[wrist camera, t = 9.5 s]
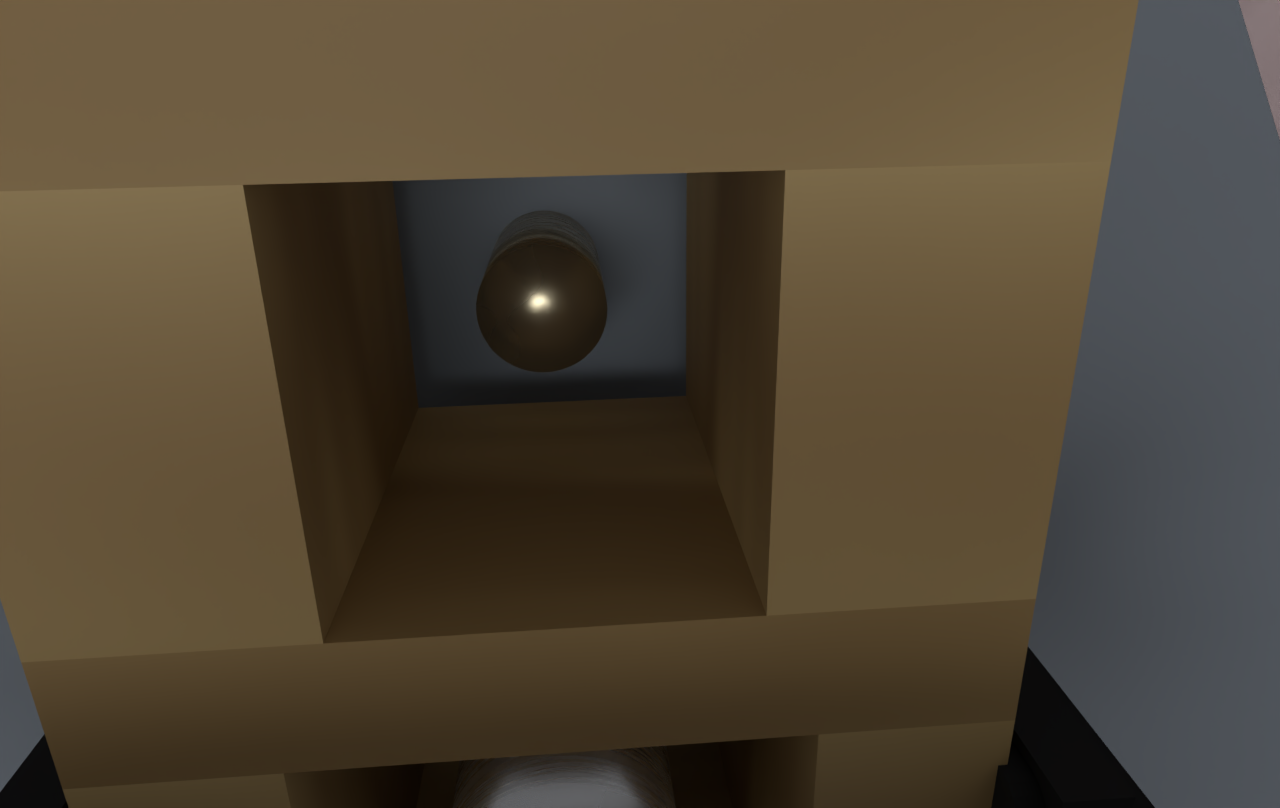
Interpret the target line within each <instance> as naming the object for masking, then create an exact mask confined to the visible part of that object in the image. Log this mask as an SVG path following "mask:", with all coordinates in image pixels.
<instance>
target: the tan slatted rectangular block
mask: <svg viewBox="0 0 1280 808" xmlns="http://www.w3.org/2000/svg"><path fill="white" fill-rule="evenodd" d="M1138 1H1139V0H0V599H1V602H2V606H3V609H4V612H5V615H6V618H7V621H8V624H9V627H10V630H11V633H12V636H13V639H14V642H15V645H16V648H17V651H18V654H19V657H20V661H21V664H22V667H23V670H24V673H25V676H26V679H27V682H28V685H29V688H30V691H31V694H32V697H33V700H34V703H35V706H36V709H37V712H38V716H39V719H40V722H41V725H42V728H43V731H44V734H45V737H46V740H47V743H48V746H49V749H50V752H51V755H52V758H53V761H54V764H55V767H56V770H57V774H58V777H59V780H60V783H61V786H62V789H63V792H64V795H65V798H66V801H67V804H68V807H69V808H453V802H454V795H455V789H456V782H457V775H458V768H459V761H462V760H476V759H489V758H503V757H517V756H531V755H544V754H558V753H572V752H586V751H600V750H613V749H627V748H641V747H655V746H666V747H667V753H668V760H669V766H670V773H671V779H672V786H673V792H674V799H675V805H676V808H991V806H992V800H993V794H994V788H995V782H996V776H997V770H998V765H1007V764H1008V759H1009V753H1010V747H1011V741H1012V735H1013V729H1014V724H1015V718H1016V712H1017V706H1018V700H1019V695H1020V689H1021V683H1022V677H1023V671H1024V665H1025V660H1026V654H1027V648H1028V642H1029V636H1030V630H1031V625H1032V619H1033V613H1034V607H1035V601H1036V595H1037V590H1038V584H1039V578H1040V572H1041V566H1042V560H1043V555H1044V549H1045V543H1046V537H1047V531H1048V526H1049V520H1050V514H1051V508H1052V502H1053V496H1054V491H1055V485H1056V479H1057V473H1058V467H1059V461H1060V456H1061V450H1062V444H1063V438H1064V432H1065V426H1066V421H1067V415H1068V409H1069V403H1070V397H1071V392H1072V386H1073V380H1074V374H1075V368H1076V362H1077V357H1078V351H1079V345H1080V339H1081V333H1082V327H1083V322H1084V316H1085V310H1086V304H1087V298H1088V292H1089V287H1090V281H1091V275H1092V269H1093V263H1094V257H1095V252H1096V246H1097V240H1098V234H1099V228H1100V223H1101V217H1102V211H1103V205H1104V199H1105V193H1106V188H1107V182H1108V176H1109V170H1110V164H1111V158H1112V153H1113V147H1114V141H1115V135H1116V129H1117V123H1118V118H1119V112H1120V106H1121V100H1122V94H1123V89H1124V83H1125V77H1126V71H1127V65H1128V59H1129V54H1130V48H1131V42H1132V36H1133V30H1134V24H1135V19H1136V13H1137V7H1138ZM663 173H687V209H686V396H673V397H651V398H628V399H606V400H584V401H561V402H539V403H517V404H494V405H472V406H450V407H428V408H419V407H418V399H417V390H416V381H415V373H414V364H413V355H412V347H411V338H410V329H409V321H408V312H407V303H406V295H405V286H404V277H403V269H402V260H401V251H400V243H399V234H398V225H397V217H396V208H395V199H394V190H393V182H392V181H404V180H441V179H478V178H515V177H552V176H589V175H626V174H663Z"/></svg>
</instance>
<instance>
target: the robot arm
mask: <svg viewBox="0 0 1280 808" xmlns="http://www.w3.org/2000/svg"><path fill="white" fill-rule="evenodd" d="M0 808H69V807H68V804H67V801H66V798H65V795H64V792H63V789H62V786H61V783H60V780H59V777H58V774H57V770H56V767H55V764H54V761H53V758H52V755H51V752H50V749H49V746H48V743H47V740H46V737H45V734H44V735H43V737H42V738H41V739H40V740H39V742H38V743H37V744H36V746H35V747H34V748H33V750H32V751H31V752H30V754H29V755H28V756H27V758H26V759H25V760H24V762H23V763H22V764H21V765H20V767H19V768H18V769H17V771H16V772H15V773H14V775H13V776H12V777H11V779H10V780H9V781H8V783H7V784H6V785H5V786H4V788H3V789H2V790H1V792H0ZM991 808H1155V807H1154V806H1153V804H1152V803H1151V802H1150V800H1149V799H1148V798H1147V797H1146V795H1145V794H1144V793H1143V792H1142V790H1141V789H1140V788H1139V787H1138V785H1137V784H1136V783H1135V781H1134V780H1133V779H1132V778H1131V776H1130V775H1129V774H1128V773H1127V771H1126V770H1125V769H1124V767H1123V766H1122V765H1121V764H1120V762H1119V761H1118V760H1117V759H1116V757H1115V756H1114V755H1113V753H1112V752H1111V751H1110V750H1109V748H1108V747H1107V746H1106V745H1105V743H1104V742H1103V741H1102V739H1101V738H1100V737H1099V736H1098V734H1097V733H1096V732H1095V731H1094V729H1093V728H1092V727H1091V725H1090V724H1089V723H1088V722H1087V720H1086V719H1085V718H1084V717H1083V715H1082V714H1081V713H1080V712H1079V710H1078V709H1077V708H1076V706H1075V705H1074V704H1073V703H1072V701H1071V700H1070V699H1069V698H1068V696H1067V695H1066V694H1065V692H1064V691H1063V690H1062V689H1061V687H1060V686H1059V685H1058V684H1057V682H1056V681H1055V680H1054V678H1053V677H1052V676H1051V675H1050V673H1049V672H1048V671H1047V670H1046V668H1045V667H1044V666H1043V664H1042V663H1041V662H1040V661H1039V659H1038V658H1037V657H1036V656H1035V654H1034V653H1033V652H1032V651H1031V649H1030V648H1029V647H1028V648H1027V654H1026V660H1025V665H1024V671H1023V677H1022V683H1021V689H1020V695H1019V700H1018V706H1017V712H1016V718H1015V724H1014V729H1013V735H1012V741H1011V747H1010V753H1009V759H1008V764H1007V765H998V770H997V776H996V782H995V788H994V794H993V800H992V806H991Z"/></svg>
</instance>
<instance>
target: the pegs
mask: <svg viewBox="0 0 1280 808" xmlns="http://www.w3.org/2000/svg"><path fill="white" fill-rule="evenodd" d="M476 315H477V321H478V325H479V328H480V331H481V333H482V335H483V337H484V339H485V341H486V342H487V344H488V345H489V346H490V348H491V349H492V350H493V351H494V352H495V353H496V354H497V355H498V356H499V357H500V358H502V359H503V360H504V361H506V362H508V363H509V364H511V365H513V366H515V367H518V368H520V369H523V370H527V371H532V372H554V371H558V370H562V369H565V368H568V367H570V366H572V365H574V364H576V363H578V362H579V361H581V360H582V359H584V358H585V357H586V356H587V355H588V354H589V353H590V352H591V351H592V350H593V349H594V348H595V346H596V345H597V343H598V342H599V340H600V338H601V336H602V334H603V332H604V328H605V325H606V320H607V299H606V294H605V289H604V284H603V279H602V273H601V268H600V263H599V258H598V253H597V249H596V246H595V244H594V241H593V240H592V238H591V236H590V235H589V233H588V232H587V230H586V229H585V228H584V227H583V226H582V225H581V224H579V223H578V222H577V221H576V220H574V219H572V218H571V217H569V216H567V215H564V214H562V213H558V212H554V211H535V212H530V213H527V214H524V215H522V216H520V217H518V218H516V219H515V220H513V221H512V222H511V223H509V224H508V225H507V226H506V227H505V228H504V230H503V231H502V232H501V234H500V235H499V237H498V239H497V241H496V243H495V246H494V249H493V251H492V254H491V257H490V260H489V262H488V265H487V268H486V271H485V274H484V276H483V279H482V282H481V285H480V288H479V291H478V295H477V301H476ZM453 808H676V805H675V799H674V792H673V786H672V779H671V773H670V766H669V760H668V753H667V747H666V746H655V747H641V748H627V749H613V750H600V751H586V752H572V753H558V754H544V755H531V756H517V757H503V758H489V759H476V760H462V761H459V768H458V775H457V782H456V789H455V795H454V802H453Z"/></svg>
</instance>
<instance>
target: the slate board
mask: <svg viewBox="0 0 1280 808" xmlns="http://www.w3.org/2000/svg"><path fill="white" fill-rule="evenodd" d="M392 182H393V190H394V199H395V208H396V217H397V225H398V234H399V243H400V251H401V260H402V269H403V277H404V286H405V295H406V303H407V312H408V321H409V329H410V338H411V347H412V355H413V364H414V373H415V381H416V390H417V399H418V407H419V408H428V407H450V406H472V405H494V404H517V403H539V402H561V401H584V400H606V399H628V398H651V397H673V396H686V209H687V173H663V174H626V175H589V176H552V177H515V178H478V179H441V180H404V181H392ZM535 211H554V212H558V213H562V214H564V215H567V216H569V217H571V218H572V219H574V220H576V221H577V222H578V223H579V224H581V225H582V226H583V227H584V228H585V229H586V230H587V232H588V233H589V235H590V236H591V238H592V240H593V241H594V244H595V246H596V249H597V253H598V258H599V263H600V268H601V273H602V279H603V284H604V289H605V294H606V299H607V320H606V325H605V328H604V332H603V334H602V336H601V338H600V340H599V342H598V343H597V345H596V346H595V348H594V349H593V350H592V351H591V352H590V353H589V354H588V355H587V356H586V357H585V358H584V359H582V360H581V361H579V362H578V363H576V364H574V365H572V366H570V367H568V368H565V369H562V370H558V371H554V372H532V371H527V370H523V369H520V368H518V367H515V366H513V365H511V364H509V363H508V362H506V361H504V360H503V359H502V358H500V357H499V356H498V355H497V354H496V353H495V352H494V351H493V350H492V349H491V348H490V346H489V345H488V344H487V342H486V341H485V339H484V337H483V335H482V333H481V331H480V328H479V325H478V321H477V315H476V301H477V295H478V291H479V288H480V285H481V282H482V279H483V276H484V274H485V271H486V268H487V265H488V262H489V260H490V257H491V254H492V251H493V249H494V246H495V243H496V241H497V239H498V237H499V235H500V234H501V232H502V231H503V230H504V228H505V227H506V226H507V225H508V224H509V223H511V222H512V221H513V220H515V219H516V218H518V217H520V216H522V215H524V214H527V213H530V212H535ZM1028 647H1029V648H1030V649H1031V651H1032V652H1033V653H1034V654H1035V656H1036V657H1037V658H1038V659H1039V661H1040V662H1041V663H1042V664H1043V666H1044V667H1045V668H1046V670H1047V671H1048V672H1049V673H1050V675H1051V676H1052V677H1053V678H1054V680H1055V681H1056V682H1057V684H1058V685H1059V686H1060V687H1061V689H1062V690H1063V691H1064V692H1065V694H1066V695H1067V696H1068V698H1069V699H1070V700H1071V701H1072V703H1073V704H1074V705H1075V706H1076V708H1077V709H1078V710H1079V712H1080V713H1081V714H1082V715H1083V717H1084V718H1085V719H1086V720H1087V722H1088V723H1089V724H1090V725H1091V727H1092V728H1093V729H1094V731H1095V732H1096V733H1097V734H1098V736H1099V737H1100V738H1101V739H1102V741H1103V742H1104V743H1105V745H1106V746H1107V747H1108V748H1109V750H1110V751H1111V752H1112V753H1113V755H1114V756H1115V757H1116V759H1117V760H1118V761H1119V762H1120V764H1121V765H1122V766H1123V767H1124V769H1125V770H1126V771H1127V773H1128V774H1129V775H1130V776H1131V778H1132V779H1133V780H1134V781H1135V783H1136V784H1137V785H1138V787H1139V788H1140V789H1141V790H1142V792H1143V793H1144V794H1145V795H1146V797H1147V798H1148V799H1149V800H1150V802H1151V803H1152V804H1153V806H1154V807H1155V808H1280V140H1279V137H1278V133H1277V130H1276V127H1275V123H1274V120H1273V116H1272V113H1271V110H1270V106H1269V103H1268V100H1267V96H1266V93H1265V89H1264V86H1263V83H1262V79H1261V76H1260V73H1259V69H1258V66H1257V62H1256V59H1255V56H1254V52H1253V49H1252V46H1251V42H1250V39H1249V35H1248V32H1247V29H1246V25H1245V22H1244V19H1243V15H1242V12H1241V8H1240V5H1239V2H1238V0H1139V1H1138V7H1137V13H1136V19H1135V24H1134V30H1133V36H1132V42H1131V48H1130V54H1129V59H1128V65H1127V71H1126V77H1125V83H1124V89H1123V94H1122V100H1121V106H1120V112H1119V118H1118V123H1117V129H1116V135H1115V141H1114V147H1113V153H1112V158H1111V164H1110V170H1109V176H1108V182H1107V188H1106V193H1105V199H1104V205H1103V211H1102V217H1101V223H1100V228H1099V234H1098V240H1097V246H1096V252H1095V257H1094V263H1093V269H1092V275H1091V281H1090V287H1089V292H1088V298H1087V304H1086V310H1085V316H1084V322H1083V327H1082V333H1081V339H1080V345H1079V351H1078V357H1077V362H1076V368H1075V374H1074V380H1073V386H1072V392H1071V397H1070V403H1069V409H1068V415H1067V421H1066V426H1065V432H1064V438H1063V444H1062V450H1061V456H1060V461H1059V467H1058V473H1057V479H1056V485H1055V491H1054V496H1053V502H1052V508H1051V514H1050V520H1049V526H1048V531H1047V537H1046V543H1045V549H1044V555H1043V560H1042V566H1041V572H1040V578H1039V584H1038V590H1037V595H1036V601H1035V607H1034V613H1033V619H1032V625H1031V630H1030V636H1029V642H1028ZM43 735H44V731H43V728H42V725H41V722H40V719H39V716H38V712H37V709H36V706H35V703H34V700H33V697H32V694H31V691H30V688H29V685H28V682H27V679H26V676H25V673H24V670H23V667H22V664H21V661H20V657H19V654H18V651H17V648H16V645H15V642H14V639H13V636H12V633H11V630H10V627H9V624H8V621H7V618H6V615H5V612H4V609H3V606H2V602H1V599H0V792H1V790H2V789H3V788H4V786H5V785H6V784H7V783H8V781H9V780H10V779H11V777H12V776H13V775H14V773H15V772H16V771H17V769H18V768H19V767H20V765H21V764H22V763H23V762H24V760H25V759H26V758H27V756H28V755H29V754H30V752H31V751H32V750H33V748H34V747H35V746H36V744H37V743H38V742H39V740H40V739H41V738H42V737H43Z"/></svg>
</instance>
